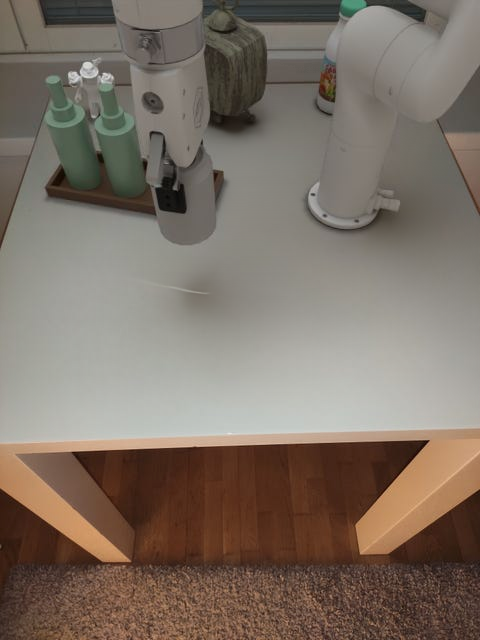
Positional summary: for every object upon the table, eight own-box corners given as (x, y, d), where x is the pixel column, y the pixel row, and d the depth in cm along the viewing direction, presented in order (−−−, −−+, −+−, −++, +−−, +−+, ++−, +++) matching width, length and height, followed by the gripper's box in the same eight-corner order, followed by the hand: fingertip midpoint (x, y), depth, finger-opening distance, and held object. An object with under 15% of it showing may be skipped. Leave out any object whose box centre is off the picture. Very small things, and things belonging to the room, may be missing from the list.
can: (210, 253, 60) (203, 179, 50) (153, 246, 61) (135, 171, 51) (221, 211, 64) (218, 135, 54) (168, 205, 65) (154, 128, 55)
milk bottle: (315, 94, 104) (331, -9, 87) (350, 95, 104) (373, -8, 87) (317, 115, 100) (334, 11, 83) (354, 116, 100) (378, 13, 83)
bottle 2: (151, 177, 88) (133, 78, 72) (140, 201, 85) (118, 102, 69) (119, 172, 89) (93, 72, 73) (106, 195, 85) (76, 96, 69)
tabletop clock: (264, 121, 98) (272, -15, 77) (235, 142, 95) (236, 4, 74) (212, 94, 103) (207, -41, 82) (183, 113, 100) (170, -23, 79)
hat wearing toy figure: (123, 112, 100) (111, 54, 90) (120, 124, 98) (106, 66, 88) (81, 110, 100) (64, 53, 90) (76, 122, 98) (58, 64, 88)
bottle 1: (108, 170, 89) (81, 70, 73) (95, 193, 85) (63, 94, 70) (76, 165, 90) (42, 65, 74) (62, 187, 86) (23, 88, 70)
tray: (223, 182, 88) (223, 170, 86) (207, 226, 82) (206, 215, 80) (75, 157, 92) (71, 146, 90) (49, 198, 86) (44, 187, 83)
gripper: (175, 92, 37) (195, 245, 52) (224, -11, 46) (229, 144, 61) (84, 81, 37) (129, 235, 52) (150, -18, 47) (172, 136, 62)
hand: (182, 185), depth 56 cm, fingers closed on can, 7 cm apart
